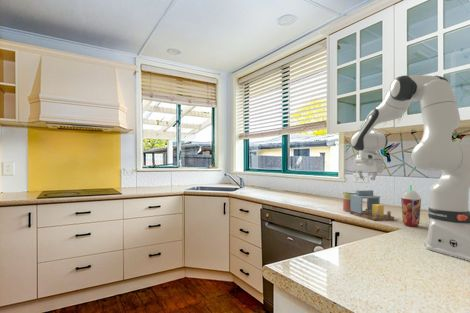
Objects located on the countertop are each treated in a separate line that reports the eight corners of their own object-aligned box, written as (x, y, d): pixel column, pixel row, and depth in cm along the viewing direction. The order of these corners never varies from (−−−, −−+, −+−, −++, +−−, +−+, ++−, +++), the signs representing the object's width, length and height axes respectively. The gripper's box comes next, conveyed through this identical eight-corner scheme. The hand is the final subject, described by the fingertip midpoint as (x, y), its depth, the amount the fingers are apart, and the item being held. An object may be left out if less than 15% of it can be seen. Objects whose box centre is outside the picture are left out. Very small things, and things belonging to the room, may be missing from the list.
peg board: (394, 219, 144) (394, 211, 144) (374, 220, 141) (374, 212, 141) (368, 212, 163) (368, 205, 163) (350, 213, 160) (350, 206, 160)
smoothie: (424, 228, 127) (424, 186, 127) (405, 226, 128) (405, 185, 129) (416, 223, 135) (416, 184, 135) (398, 223, 137) (398, 184, 137)
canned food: (348, 208, 177) (348, 190, 177) (365, 211, 168) (365, 192, 168) (339, 210, 170) (339, 191, 170) (356, 213, 161) (356, 193, 161)
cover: (379, 212, 154) (379, 191, 154) (361, 213, 151) (361, 191, 151) (368, 209, 163) (368, 189, 163) (350, 210, 160) (350, 189, 160)
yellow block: (383, 216, 146) (383, 205, 146) (377, 216, 145) (377, 205, 145) (378, 214, 150) (378, 204, 150) (372, 215, 149) (372, 204, 149)
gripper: (351, 155, 165) (350, 177, 165) (376, 156, 145) (375, 181, 145) (359, 155, 166) (359, 177, 167) (385, 156, 147) (385, 181, 147)
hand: (367, 179), depth 156 cm, fingers open, 8 cm apart
